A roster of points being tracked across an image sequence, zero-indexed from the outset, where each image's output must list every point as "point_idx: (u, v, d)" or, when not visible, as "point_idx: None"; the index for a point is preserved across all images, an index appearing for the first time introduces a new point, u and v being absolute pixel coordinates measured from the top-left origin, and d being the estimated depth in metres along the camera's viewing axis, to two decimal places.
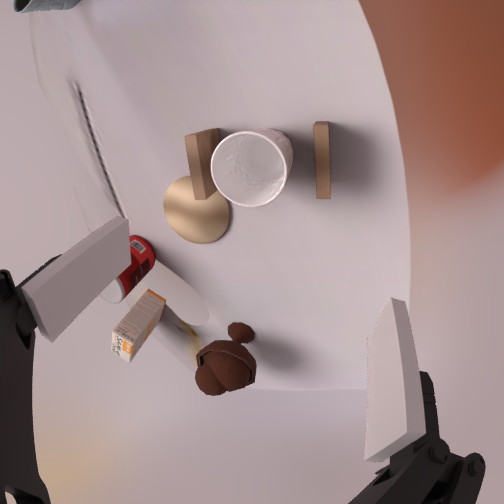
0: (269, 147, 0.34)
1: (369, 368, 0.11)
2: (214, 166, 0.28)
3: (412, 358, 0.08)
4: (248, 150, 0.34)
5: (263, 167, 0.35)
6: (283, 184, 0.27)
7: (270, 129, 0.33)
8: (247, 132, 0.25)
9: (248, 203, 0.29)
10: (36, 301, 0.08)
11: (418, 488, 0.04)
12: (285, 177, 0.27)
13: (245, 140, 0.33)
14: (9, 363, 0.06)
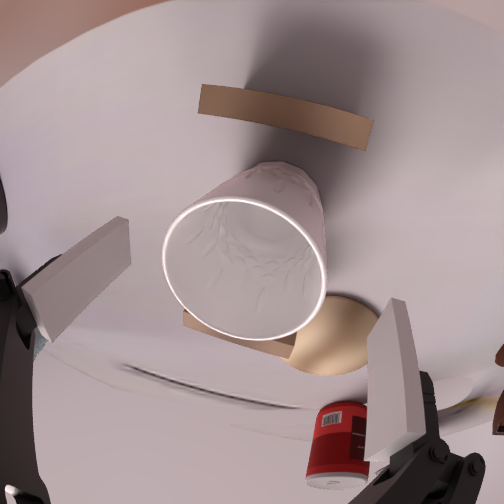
0: None
1: (369, 368, 0.11)
2: (220, 325, 0.15)
3: (412, 358, 0.08)
4: (255, 236, 0.21)
5: None
6: (290, 220, 0.11)
7: None
8: (163, 249, 0.13)
9: (314, 304, 0.13)
10: (36, 301, 0.08)
11: (418, 488, 0.04)
12: (274, 209, 0.11)
13: (233, 236, 0.20)
14: (9, 363, 0.06)
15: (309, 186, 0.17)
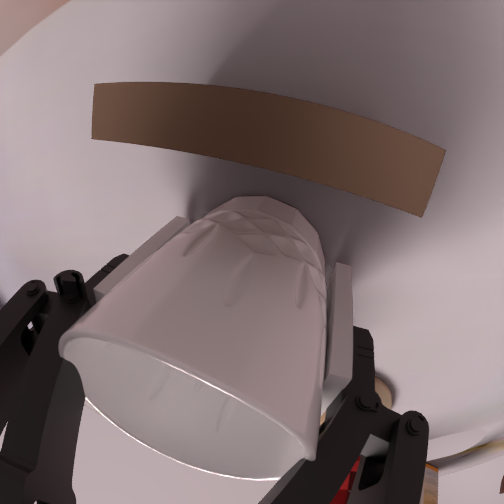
0: None
1: None
2: (166, 448, 0.09)
3: (347, 311, 0.10)
4: None
5: None
6: (242, 399, 0.04)
7: None
8: None
9: (294, 463, 0.06)
10: None
11: (352, 440, 0.06)
12: (204, 379, 0.04)
13: None
14: (65, 375, 0.06)
15: (305, 247, 0.10)
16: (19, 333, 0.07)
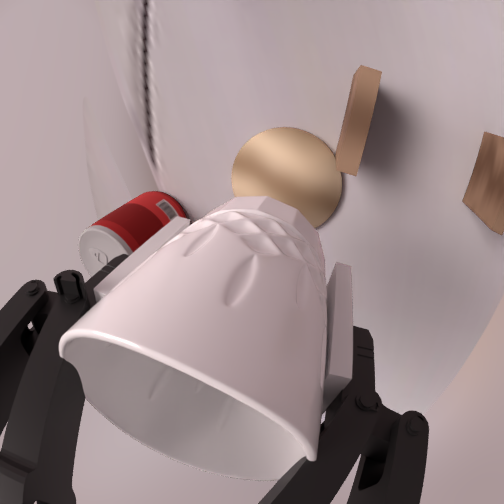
0: None
1: None
2: (167, 448, 0.09)
3: (347, 311, 0.10)
4: None
5: None
6: (243, 400, 0.04)
7: None
8: None
9: None
10: None
11: (352, 439, 0.06)
12: (205, 380, 0.04)
13: None
14: (65, 375, 0.06)
15: (305, 247, 0.10)
16: (19, 333, 0.07)
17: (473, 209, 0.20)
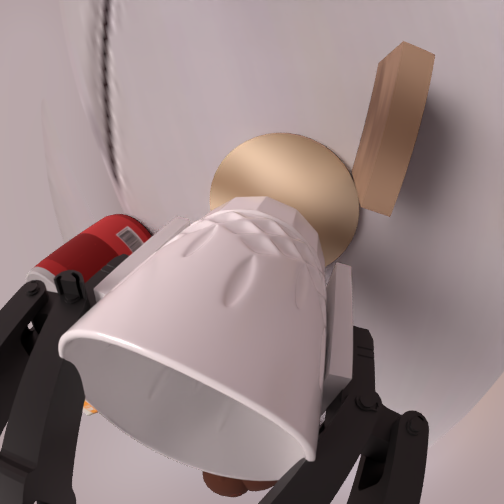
0: None
1: None
2: (166, 449, 0.09)
3: (347, 311, 0.10)
4: None
5: None
6: (242, 400, 0.04)
7: None
8: None
9: None
10: None
11: (352, 439, 0.06)
12: (203, 380, 0.04)
13: None
14: (65, 375, 0.06)
15: (304, 247, 0.10)
16: (19, 333, 0.07)
17: None
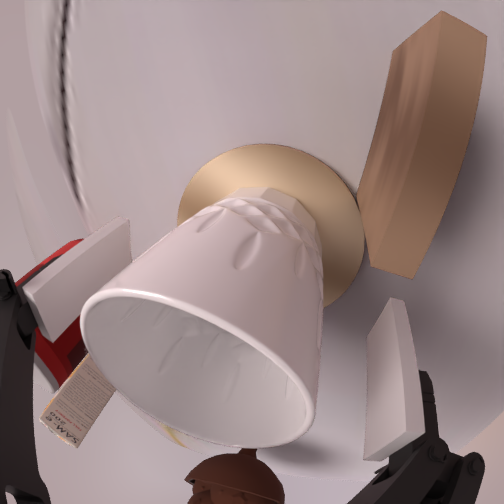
0: None
1: (369, 368, 0.11)
2: (174, 421, 0.10)
3: (411, 357, 0.08)
4: None
5: None
6: (251, 342, 0.06)
7: None
8: (83, 337, 0.08)
9: (296, 425, 0.08)
10: (37, 301, 0.08)
11: (418, 487, 0.04)
12: (219, 323, 0.06)
13: None
14: (10, 363, 0.06)
15: (303, 230, 0.12)
16: None
17: None
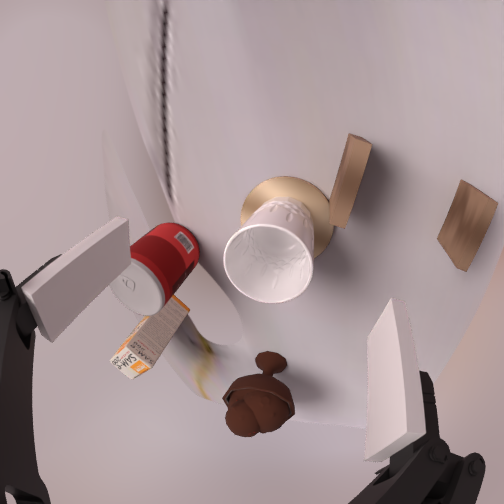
0: None
1: (369, 368, 0.11)
2: (253, 295, 0.27)
3: (412, 358, 0.08)
4: (270, 244, 0.32)
5: None
6: (295, 236, 0.22)
7: None
8: (225, 250, 0.25)
9: (306, 280, 0.24)
10: (36, 301, 0.08)
11: (418, 488, 0.04)
12: (287, 231, 0.22)
13: (256, 243, 0.32)
14: (9, 363, 0.06)
15: (305, 214, 0.28)
16: None
17: (444, 247, 0.27)
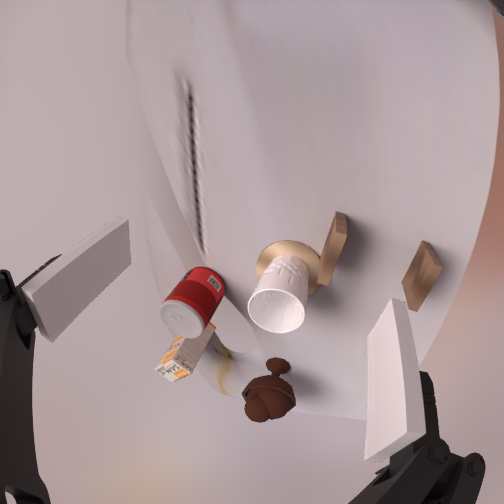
0: None
1: (369, 368, 0.11)
2: (266, 327, 0.40)
3: (412, 358, 0.08)
4: None
5: None
6: (293, 296, 0.35)
7: (267, 267, 0.45)
8: (249, 301, 0.38)
9: (301, 320, 0.37)
10: (36, 301, 0.08)
11: (418, 488, 0.04)
12: (288, 293, 0.35)
13: None
14: (9, 363, 0.06)
15: (302, 271, 0.41)
16: None
17: (405, 291, 0.39)
